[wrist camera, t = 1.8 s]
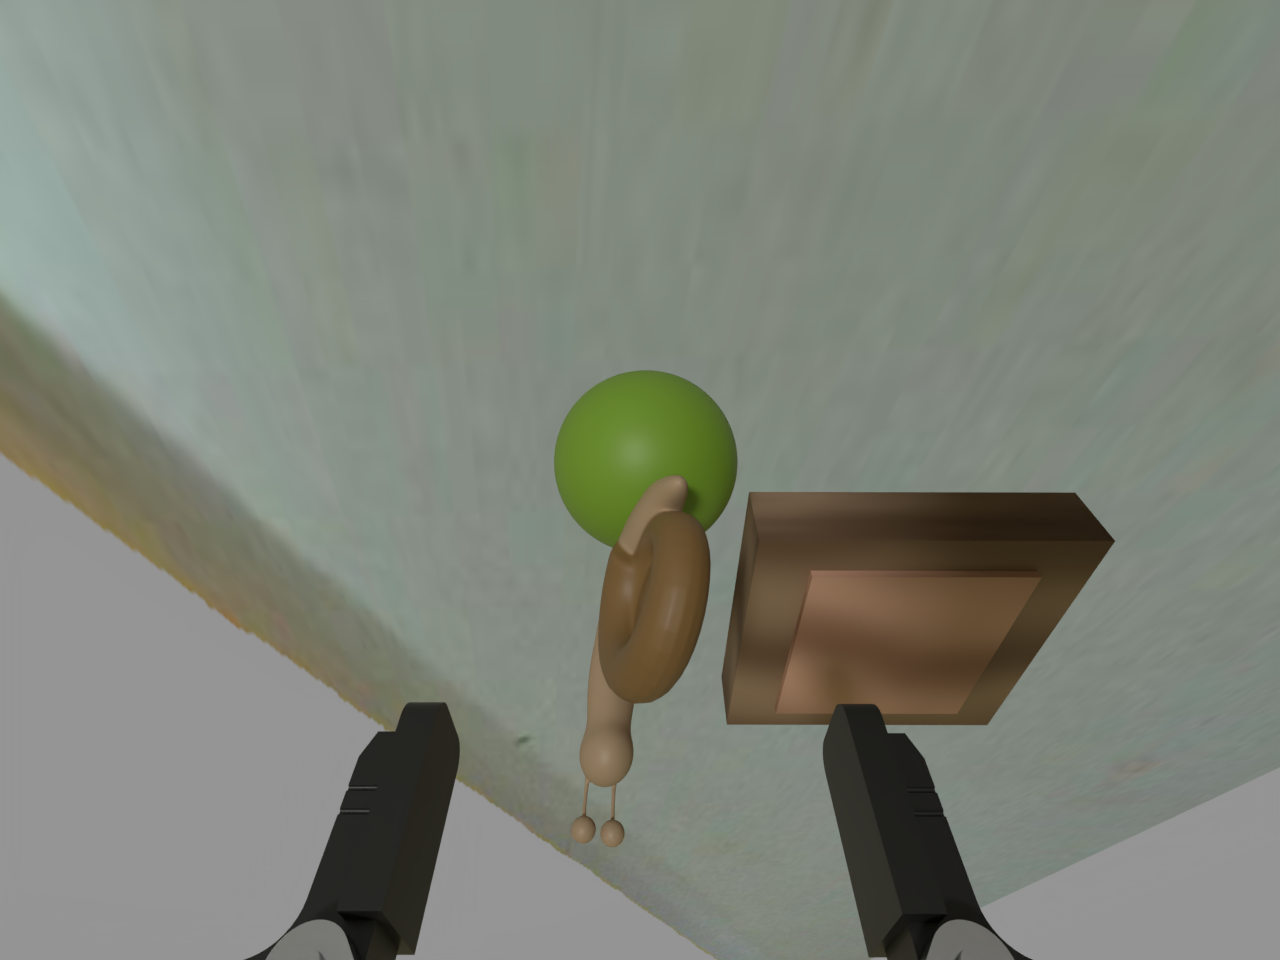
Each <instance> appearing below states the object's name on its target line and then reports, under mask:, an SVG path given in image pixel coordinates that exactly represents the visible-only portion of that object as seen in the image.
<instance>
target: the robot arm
mask: <svg viewBox="0 0 1280 960" xmlns="http://www.w3.org/2000/svg"><path fill="white" fill-rule="evenodd" d="M459 757H460V742H459V737H458V734H457V732H456V729H455V726H454V723H453V720H452V717H451V714H450V712H449V709H448V706H447V704H446V703H445V702H409V703H407V704H406V705H405V707H404V708H403V710H402V713H401V716H400V719H399V722H398V725H397V728H396V731H378V732H377V734H376V735H375V736H374V737H373V739H372V740H371V741H370V743H369V744H368V745H367V746H366V748H365V749H364V750H363V752H362V753H361V754H360V755H359V757H358V760H357V763H356V765H355V768H354V771H353V774H352V776H351V779H350V782H349V785H348V786H349V787H348V790H347V791H346V793H345V795H344V798H343V801H342V804H341V806H340V813H339V814H338V815H337V817H336V820H335V823H334V826H333V828H332V831H331V834H330V837H329V839H328V842H327V845H326V848H325V850H324V853H323V856H322V858H321V861H320V864H319V867H318V869H317V872H316V875H315V878H314V880H313V883H312V886H311V889H310V891H309V894H308V897H307V900H306V902H305V904H304V906H303V909H302V910H301V912H300V914H299V916H298V917H297V919H296V920H295V922H294V923H293V924H292V926H291V927H290V928H289V929H288V930H287V932H286V933H285V934H284V935H283V936H282V937H281V938H280V939H278V940H277V941H276V942H275V943H274V944H272V945H271V946H270V947H268V948H267V949H265V950H264V951H262V952H260V953H259V954H256V955H254V956H252V957H250V958H247V959H244V960H396V956H397V955H415V951H416V947H417V943H418V938H419V934H420V930H421V925H422V921H423V917H424V913H425V908H426V904H427V900H428V895H429V891H430V887H431V882H432V878H433V874H434V870H435V865H436V861H437V857H438V852H439V848H440V844H441V839H442V835H443V831H444V827H445V822H446V818H447V814H448V809H449V805H450V801H451V796H452V792H453V788H454V784H455V779H456V775H457V771H458V765H459ZM823 763H824V769H825V774H826V778H827V782H828V787H829V791H830V795H831V799H832V804H833V808H834V812H835V816H836V821H837V825H838V829H839V833H840V838H841V842H842V846H843V850H844V855H845V859H846V863H847V867H848V872H849V876H850V880H851V884H852V889H853V893H854V897H855V901H856V906H857V910H858V914H859V918H860V923H861V927H862V931H863V935H864V940H865V944H866V948H867V952H868V957H887V960H1032V959H1030V958H1028V957H1026V956H1024V955H1022V954H1021V953H1019V952H1018V951H1016V950H1015V949H1013V948H1012V947H1011V946H1009V945H1008V944H1007V943H1006V942H1005V941H1004V940H1003V939H1002V938H1001V937H1000V936H999V935H998V934H997V933H996V932H995V931H994V930H993V928H992V927H991V926H990V924H989V923H988V921H987V920H986V918H985V916H984V915H983V913H982V911H981V909H980V907H979V904H978V902H977V900H976V897H975V894H974V891H973V889H972V886H971V883H970V881H969V878H968V875H967V872H966V870H965V867H964V864H963V862H962V859H961V856H960V853H959V851H958V848H957V845H956V842H955V840H954V837H953V834H952V832H951V829H950V826H949V823H948V821H947V818H946V817H945V816H944V813H943V811H944V810H943V807H942V804H941V802H940V799H939V796H938V794H937V793H936V792H935V785H934V783H933V780H932V777H931V775H930V772H929V769H928V766H927V764H926V761H925V758H924V757H923V756H922V754H921V753H920V752H919V751H918V749H917V748H916V747H915V745H914V744H913V743H912V742H911V740H910V739H909V738H908V736H907V735H906V734H905V733H888V732H887V729H886V726H885V723H884V720H883V717H882V714H881V712H880V710H879V708H878V707H877V706H876V705H875V704H837V705H836V707H835V710H834V713H833V715H832V718H831V721H830V724H829V727H828V729H827V732H826V735H825V738H824V741H823Z"/></svg>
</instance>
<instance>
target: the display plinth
mask: <svg viewBox="0 0 1280 960" xmlns="http://www.w3.org/2000/svg"><path fill="white" fill-rule="evenodd" d="M1114 542H1115V540H1114V539H1113V538H1112V536H1111V535H1110V534H1109V533H1108V532H1107V530H1106V529H1105V528H1104V527H1103V526H1102V524H1101V523H1100V522H1099V521H1098V519H1097V518H1096V517H1095V516H1094V515H1093V513H1092V512H1091V511H1090V510H1089V509H1088V507H1087V506H1086V505H1085V504H1084V503H1083V501H1082V500H1081V499H1080V498H1079V497H1078V495H1077V494H1076V493H1057V492H749V496H748V503H747V509H746V516H745V523H744V529H743V536H742V543H741V549H740V556H739V563H738V569H737V576H736V583H735V589H734V596H733V603H732V609H731V616H730V623H729V629H728V636H727V643H726V649H725V656H724V663H723V669H722V676H721V678H722V687H723V696H724V704H725V713H726V722H727V725H829V724H830V721H831V718H832V715H833V713H834V710H835V707H836V705H837V704H875V705H876V706H877V707H878V708H879V710H880V712H881V714H882V717H883V720H884V723H885V725H988V723H989V722H990V721H991V719H992V718H993V716H994V715H995V713H996V712H997V711H998V709H999V708H1000V706H1001V705H1002V703H1003V702H1004V700H1005V699H1006V698H1007V696H1008V695H1009V693H1010V692H1011V690H1012V689H1013V687H1014V686H1015V685H1016V683H1017V682H1018V680H1019V679H1020V677H1021V676H1022V675H1023V673H1024V672H1025V670H1026V669H1027V667H1028V666H1029V664H1030V663H1031V662H1032V660H1033V659H1034V657H1035V656H1036V654H1037V653H1038V652H1039V650H1040V649H1041V647H1042V646H1043V644H1044V643H1045V641H1046V640H1047V639H1048V637H1049V636H1050V634H1051V633H1052V631H1053V630H1054V629H1055V627H1056V626H1057V624H1058V623H1059V621H1060V620H1061V618H1062V617H1063V616H1064V614H1065V613H1066V611H1067V610H1068V608H1069V607H1070V606H1071V604H1072V603H1073V601H1074V600H1075V598H1076V597H1077V595H1078V594H1079V593H1080V591H1081V590H1082V588H1083V587H1084V585H1085V584H1086V583H1087V581H1088V580H1089V578H1090V577H1091V575H1092V574H1093V572H1094V571H1095V570H1096V568H1097V567H1098V565H1099V564H1100V562H1101V561H1102V560H1103V558H1104V557H1105V555H1106V554H1107V552H1108V551H1109V549H1110V548H1111V547H1112V545H1113V544H1114Z"/></svg>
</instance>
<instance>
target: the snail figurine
mask: <svg viewBox="0 0 1280 960" xmlns="http://www.w3.org/2000/svg"><path fill="white" fill-rule="evenodd" d="M737 466H738V458H737V448H736V443H735V439H734V435H733V432H732V429H731V427H730V424H729V422H728V420H727V418H726V417H725V415H724V413H723V412H722V410H721V409H720V407H719V406H718V405H717V404H716V402H715V401H714V400H713V399H712V398H711V397H710V396H709V395H708V394H707V393H706V392H705V391H703V390H702V389H701V388H699V387H698V386H696V385H695V384H693V383H692V382H690V381H688V380H686V379H684V378H682V377H679V376H676V375H673V374H670V373H666V372H661V371H652V370H639V371H631V372H626V373H622V374H618V375H615V376H613V377H610V378H608V379H606V380H604V381H602V382H600V383H598V384H597V385H595V386H594V387H592V388H591V389H590V390H588V391H587V392H586V393H585V394H584V395H583V396H582V397H581V398H580V399H579V400H578V401H577V402H576V403H575V404H574V406H573V407H572V408H571V410H570V411H569V413H568V414H567V416H566V418H565V419H564V421H563V423H562V426H561V428H560V431H559V434H558V437H557V441H556V445H555V452H554V472H555V479H556V483H557V487H558V491H559V493H560V496H561V498H562V501H563V503H564V505H565V507H566V508H567V510H568V512H569V513H570V515H571V516H572V517H573V519H574V520H575V521H576V522H577V523H578V525H579V526H580V527H581V528H582V529H583V530H585V531H586V532H587V533H588V534H589V535H591V536H592V537H593V538H595V539H596V540H598V541H600V542H601V543H603V544H605V545H607V546H610V547H612V550H611V552H610V555H609V559H608V563H607V568H606V572H605V577H604V582H603V588H602V595H601V602H600V612H599V621H598V626H597V631H596V637H595V642H594V647H593V652H592V657H591V664H590V671H589V680H588V693H587V725H586V730H585V733H584V736H583V739H582V743H581V747H580V753H579V758H580V765H581V768H582V771H583V773H584V775H585V787H584V798H583V809H582V816H580V817H578V818H576V819H575V820H574V822H573V824H572V827H571V833H572V836H573V838H574V840H575V841H577V842H578V843H581V844H585V843H588V842H590V841H591V840H592V839H593V837H594V835H595V832H596V826H595V823H594V821H593V820H592V819H591V818H590V817H588V816H586V804H587V794H588V787H589V783H590V782H591V783H593V784H594V785H596V786H599V787H610V786H612V799H611V820H608V821H606V822H605V823H604V824H603V826H602V828H601V831H600V836H601V840H602V842H603V843H604V844H605V845H606V846H608V847H617V846H619V845H620V844H621V843H622V841H623V839H624V835H625V832H624V828H623V825H622V824H621V823H620V822H619V821H617V820H615V793H616V785H617V783H619V782H620V781H621V780H622V779H623V778H624V777H625V776H626V775H627V773H628V772H629V770H630V767H631V765H632V761H633V754H634V750H633V742H632V737H631V720H632V714H633V708H634V704H638V703H651V702H653V701H655V700H657V699H659V698H661V697H662V696H664V695H665V694H666V693H668V692H669V691H670V690H671V689H672V687H673V686H674V685H675V684H676V682H677V681H678V680H679V678H680V677H681V676H682V674H683V672H684V670H685V669H686V667H687V665H688V663H689V661H690V659H691V656H692V654H693V652H694V649H695V647H696V644H697V641H698V638H699V635H700V632H701V628H702V624H703V621H704V617H705V612H706V606H707V601H708V595H709V586H710V570H711V561H710V549H709V544H708V539H707V536H706V533H705V532H706V531H707V530H708V529H709V528H710V527H711V526H712V525H713V524H714V523H715V522H716V521H717V519H718V518H719V517H720V515H721V514H722V512H723V511H724V509H725V508H726V506H727V504H728V502H729V500H730V497H731V495H732V492H733V489H734V486H735V482H736V476H737Z"/></svg>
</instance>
